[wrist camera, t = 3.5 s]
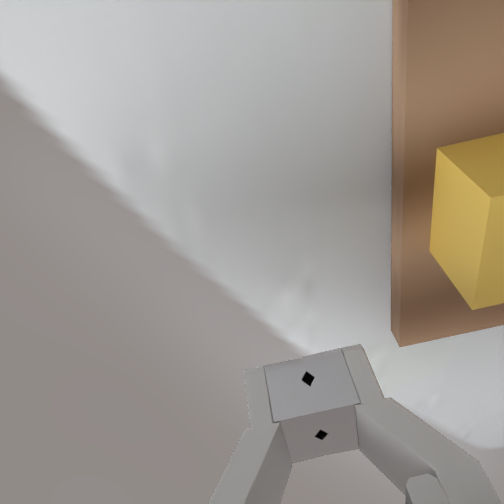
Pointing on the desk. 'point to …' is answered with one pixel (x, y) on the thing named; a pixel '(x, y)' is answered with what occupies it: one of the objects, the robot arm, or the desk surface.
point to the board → (432, 137)
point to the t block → (471, 218)
